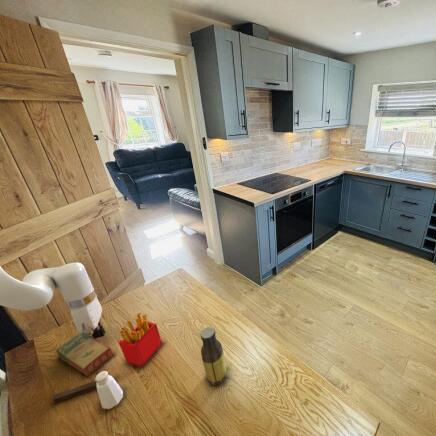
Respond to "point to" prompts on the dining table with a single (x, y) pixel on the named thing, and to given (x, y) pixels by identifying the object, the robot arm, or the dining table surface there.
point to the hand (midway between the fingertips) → (99, 335)
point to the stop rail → (75, 392)
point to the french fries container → (140, 341)
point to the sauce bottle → (213, 357)
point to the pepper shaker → (108, 390)
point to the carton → (84, 353)
